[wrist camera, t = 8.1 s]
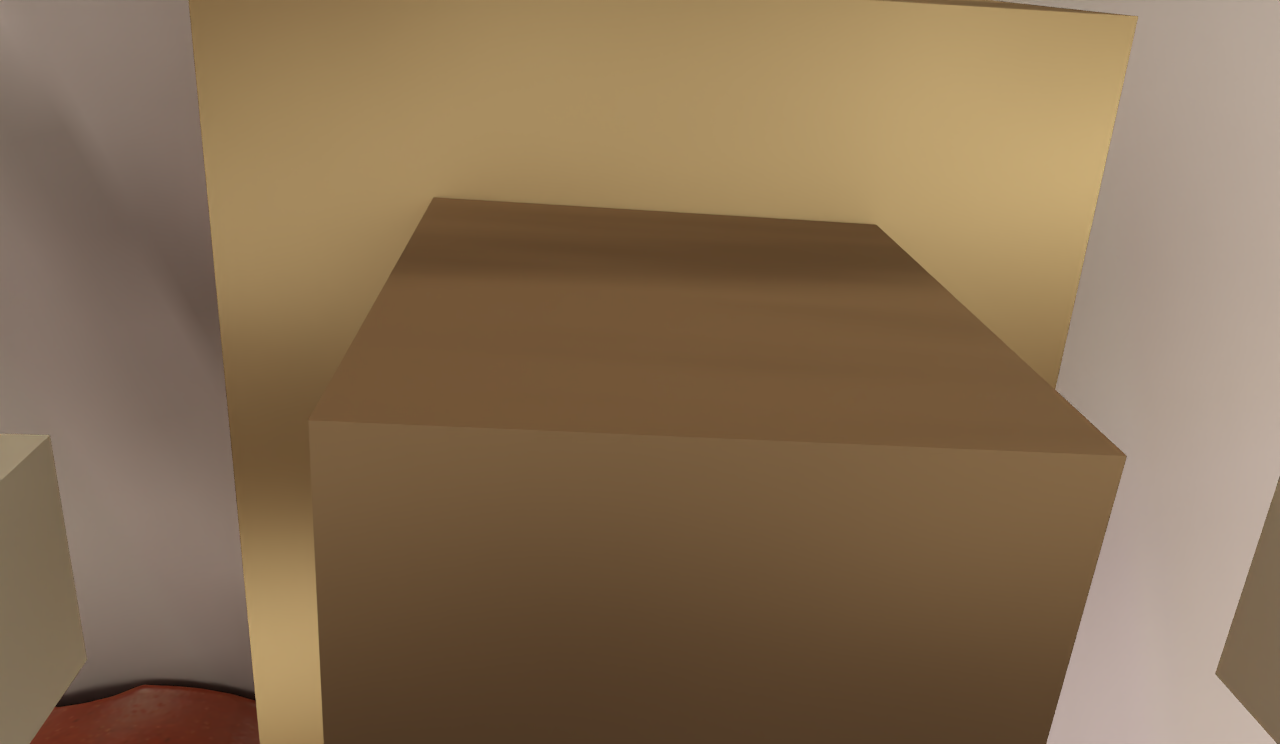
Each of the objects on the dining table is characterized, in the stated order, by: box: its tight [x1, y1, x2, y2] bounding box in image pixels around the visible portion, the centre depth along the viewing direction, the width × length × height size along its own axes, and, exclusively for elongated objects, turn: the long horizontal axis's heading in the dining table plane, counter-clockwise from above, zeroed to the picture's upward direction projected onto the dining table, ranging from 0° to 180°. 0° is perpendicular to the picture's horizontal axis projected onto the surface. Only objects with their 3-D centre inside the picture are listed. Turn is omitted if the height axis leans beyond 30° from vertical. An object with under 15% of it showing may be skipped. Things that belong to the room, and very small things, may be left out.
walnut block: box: [308, 197, 1127, 744], centre depth 12 cm, size 6×6×7 cm
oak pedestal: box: [189, 0, 1138, 744], centre depth 18 cm, size 12×12×6 cm
